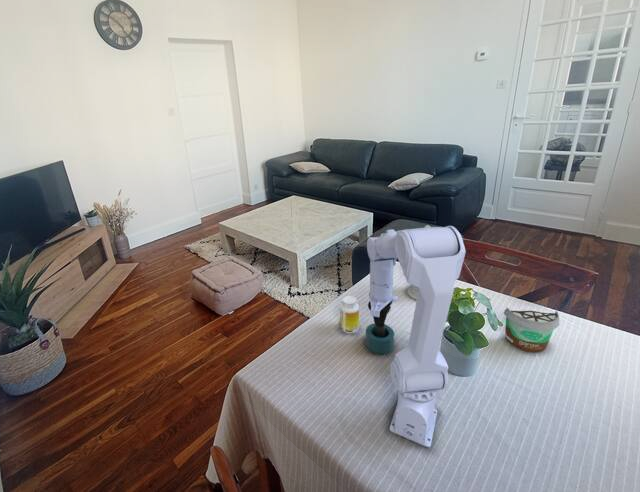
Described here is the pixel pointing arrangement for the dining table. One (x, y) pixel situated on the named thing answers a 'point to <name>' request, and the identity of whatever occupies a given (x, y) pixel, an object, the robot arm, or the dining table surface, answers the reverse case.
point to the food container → (530, 329)
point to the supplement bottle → (349, 315)
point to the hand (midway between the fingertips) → (380, 323)
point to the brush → (380, 330)
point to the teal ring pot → (379, 340)
